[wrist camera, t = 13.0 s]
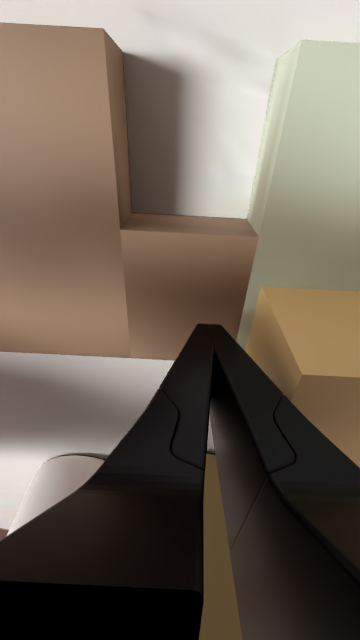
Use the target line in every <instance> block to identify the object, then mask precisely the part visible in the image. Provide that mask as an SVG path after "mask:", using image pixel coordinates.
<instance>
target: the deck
mask: <svg viewBox="0 0 360 640" xmlns="http://www.w3.org/2000/svg"><path fill="white" fill-rule="evenodd" d="M261 286H266V287H285V288H304V289H322V290H341V291H360V43H347V42H330V41H312V40H301V41H300V42H299V43H297V44H296V45H295V46H294V47H292V48H291V49H290V50H289V51H287V52H286V53H285V54H283V55H282V56H281V57H280V58H278V59H277V60H276V65H275V71H274V76H273V82H272V87H271V92H270V98H269V103H268V109H267V114H266V120H265V125H264V130H263V136H262V141H261V147H260V152H259V157H258V163H257V168H256V174H255V179H254V184H253V190H252V195H251V201H250V206H249V212H248V217H247V219H234V218H216V217H197V216H178V215H160V214H141V213H132V211H131V193H130V176H129V158H128V141H127V124H126V106H125V89H124V71H123V54H122V50H121V49H120V48H119V47H118V46H117V44H116V43H115V42H114V41H113V40H112V38H111V37H110V36H109V35H108V34H107V32H106V31H105V30H104V29H103V28H85V27H68V26H51V25H33V24H16V23H0V351H2V352H22V353H42V354H61V355H81V356H101V357H120V358H140V359H160V360H176V358H177V357H178V355H179V353H180V352H181V350H182V348H183V347H184V345H185V343H186V342H187V340H188V338H189V337H190V335H191V333H192V332H193V330H194V328H195V327H196V325H197V324H198V323H202V324H220V325H222V326H223V327H224V328H225V329H226V331H227V332H228V333H229V334H230V335H231V336H232V337H233V338H234V339H235V340H236V342H237V343H238V344H239V345H240V346H241V347H242V348H243V349H244V350H245V349H246V345H247V341H248V337H249V333H250V329H251V325H252V321H253V317H254V313H255V309H256V305H257V301H258V297H259V293H260V289H261Z"/></svg>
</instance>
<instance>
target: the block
mask: <svg viewBox="0 0 360 640" xmlns="http://www.w3.org/2000/svg"><path fill="white" fill-rule="evenodd" d="M245 351H246V353H247V354H248V355H249V356H250V357H251V358H252V359H253V360H254V361H255V363H256V364H257V365H258V366H259V367H260V368H261V369H262V370H263V371H264V372H265V374H266V375H267V376H268V377H269V378H270V379H271V380H272V381H273V382H274V383H275V385H276V386H277V387H278V388H279V389H280V390H281V391H282V392H283V395H286V397H287V398H288V399H289V400H290V401H291V402H292V403H293V404H294V405H295V406H296V407H297V408H298V410H299V411H300V412H301V413H302V414H303V415H304V416H305V417H306V418H307V419H308V420H309V421H310V422H311V423H312V424H313V425H314V426H315V427H316V428H317V429H318V430H320V431H321V432H322V433H323V434H324V435H325V436H326V437H327V438H328V439H329V440H330V441H331V442H332V443H333V444H334V445H336V446H337V447H338V448H339V449H340V450H341V451H342V452H343V453H344V454H345V455H346V456H348V457H349V458H350V459H351V460H352V461H353V462H354V463H355V464H356V465H357V466H358V467H359V468H360V291H341V290H322V289H304V288H285V287H266V286H261V289H260V293H259V297H258V301H257V305H256V309H255V313H254V317H253V321H252V325H251V329H250V333H249V337H248V341H247V345H246V349H245Z"/></svg>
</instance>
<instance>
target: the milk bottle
mask: <svg viewBox="0 0 360 640" xmlns="http://www.w3.org/2000/svg"><path fill="white" fill-rule="evenodd" d="M104 461H105V460H102V459H98V458H94V457H87V456H74V455H72V456H61V457H56V458H53V459H50V460H48V461H47V462H45V463H43V465H42V466H41V467H40V468H39V469H38V470H37V471H36V473H35V475H34V477H33V479H32V481H31V483H30V485H29V487H28V490H27V492H26V494H25V496H24V499H23V501H22V503H21V505H20V507H19V510H18V512H17V514H16V516H15V519H14V521H13V523H12V525H11V528H10V530H9V532H8V534H7V535H9V534H10V533H12V532H13V531H15V530H16V529H18V528H20V527H21V526H23V525H24V524H26V523H27V522H29V521H30V520H32V519H33V518H35V517H36V516H38V515H39V514H41V513H42V512H44V511H45V510H47V509H48V508H50V507H52V506H53V505H55V504H56V503H58V502H59V501H61V500H62V499H64V498H65V497H67V496H68V495H70V494H71V493H73V492H74V491H76V490H77V489H78V488H79V487H81V486H82V485H83V484H84V483H85V482H86V481H87V480H88V479H89V478H90V477H91V476H92V475H93V474H94V473H95V472H96V471H97V470H98V468H99V467H100V466H101V465H102V464H103V462H104Z"/></svg>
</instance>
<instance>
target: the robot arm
mask: <svg viewBox="0 0 360 640" xmlns="http://www.w3.org/2000/svg"><path fill="white" fill-rule="evenodd" d="M209 414H210V421H211V428H212V434H213V441H214V448H215V455H216V462H217V469H218V476H219V482H220V489H221V496H222V503H223V510H224V517H225V523H226V530H227V537H228V544H229V550H230V558H231V565H232V572H233V579H234V585H235V592H236V599H237V606H238V613H239V620H240V626H241V633H242V640H360V468H359V467H358V466H357V465H356V464H355V463H354V462H353V461H352V460H351V459H350V458H349V457H348V456H346V455H345V454H344V453H343V452H342V451H341V450H340V449H339V448H338V447H337V446H336V445H334V444H333V443H332V442H331V441H330V440H329V439H328V438H327V437H326V436H325V435H324V434H323V433H322V432H321V431H320V430H318V429H317V428H316V427H315V426H314V425H313V424H312V423H311V422H310V421H309V420H308V419H307V418H306V417H305V416H304V415H303V414H302V413H301V412H300V411H299V410H298V408H297V407H296V406H295V405H294V404H293V403H292V402H291V401H290V400H289V399H288V398H287V397H286V395H283V392H282V391H281V390H280V389H279V388H278V387H277V386H276V385H275V383H274V382H273V381H272V380H271V379H270V378H269V377H268V376H267V375H266V374H265V372H264V371H263V370H262V369H261V368H260V367H259V366H258V365H257V364H256V363H255V361H254V360H253V359H252V358H251V357H250V356H249V355H248V354H247V353H246V351H245V350H244V349H243V348H242V347H241V346H240V345H239V344H238V343H237V342H236V340H235V339H234V338H233V337H232V336H231V335H230V334H229V333H228V332H227V331H226V329H225V328H224V327H223V326H222V325H220V324H202V323H198V324H197V325H196V327H195V328H194V330H193V332H192V333H191V335H190V337H189V338H188V340H187V342H186V343H185V345H184V347H183V348H182V350H181V352H180V353H179V355H178V357H177V358H176V360H175V362H174V363H173V365H172V367H171V368H170V370H169V372H168V373H167V375H166V377H165V378H164V380H163V382H162V384H161V385H160V387H159V389H158V390H157V392H156V393H155V395H154V397H153V398H152V400H151V401H150V403H149V404H148V406H147V407H146V409H145V411H144V412H143V413H142V415H141V416H140V417H139V419H138V420H137V421H136V423H135V424H134V425H133V427H132V428H131V429H130V430H129V431H128V433H127V434H126V435H125V436H124V438H123V439H122V440H121V441H120V443H119V444H118V445H117V446H116V448H115V449H114V450H113V451H112V452H111V454H110V455H109V456H108V457H107V459H106V460H105V461H104V462H103V464H102V465H101V466H100V467H99V468H98V470H97V471H96V472H95V473H94V474H93V475H92V476H91V477H90V478H89V479H88V480H87V481H86V482H85V483H84V484H83V485H82V486H81V487H79V488H78V489H77V490H76V491H74V492H73V493H71V494H70V495H68V496H67V497H65V498H64V499H62V500H61V501H59V502H58V503H56V504H55V505H53V506H52V507H50V508H48V509H47V510H45V511H44V512H42V513H41V514H39V515H38V516H36V517H35V518H33V519H32V520H30V521H29V522H27V523H26V524H24V525H23V526H21V527H20V528H18V529H16V530H15V531H13V532H12V533H10V534H9V535H7V536H6V537H4V538H3V539H1V540H0V640H199V635H200V627H201V619H202V612H203V604H204V481H205V467H206V453H207V440H208V426H209Z"/></svg>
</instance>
